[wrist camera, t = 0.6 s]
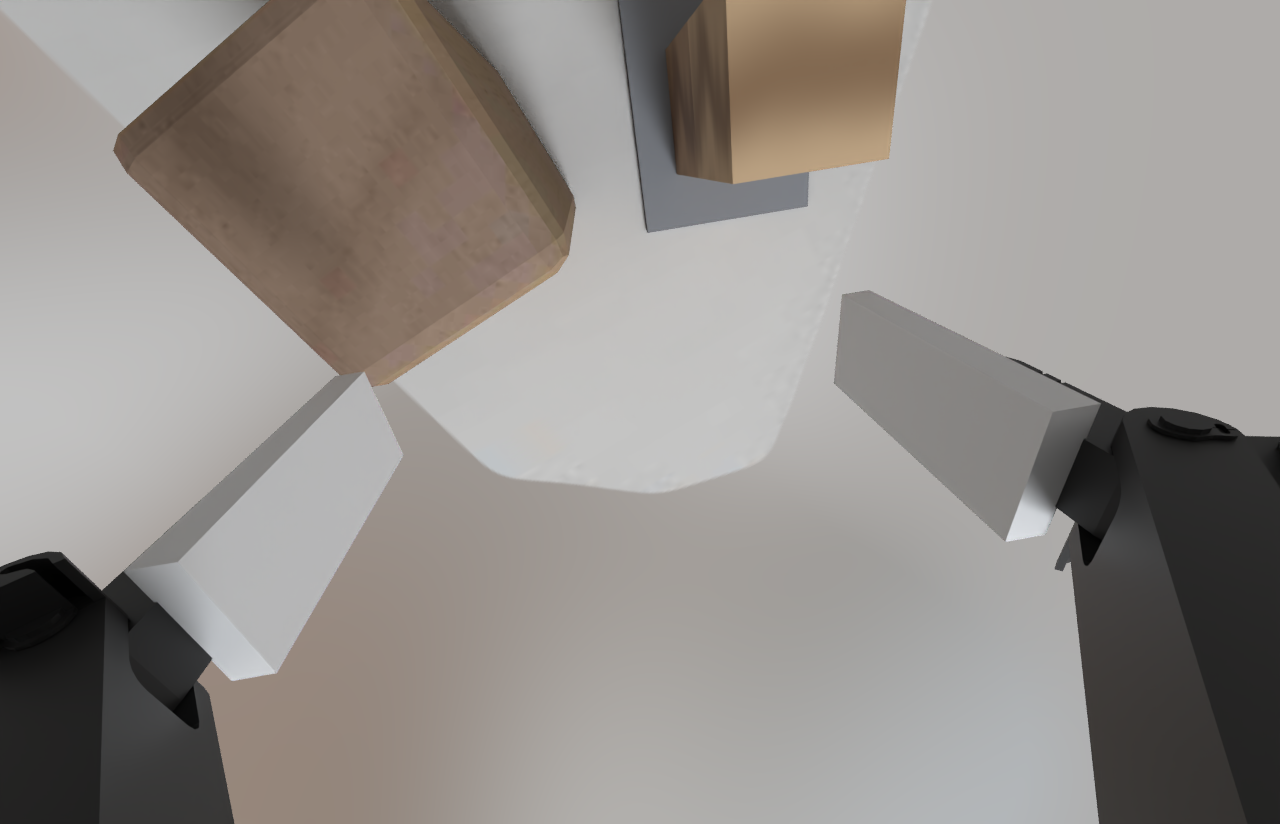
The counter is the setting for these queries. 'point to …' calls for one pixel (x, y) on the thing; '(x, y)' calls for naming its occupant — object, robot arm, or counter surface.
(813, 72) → the tower top
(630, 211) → the counter surface
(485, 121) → the block
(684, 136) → the block
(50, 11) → the counter surface
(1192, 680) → the robot arm
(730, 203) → the mat
